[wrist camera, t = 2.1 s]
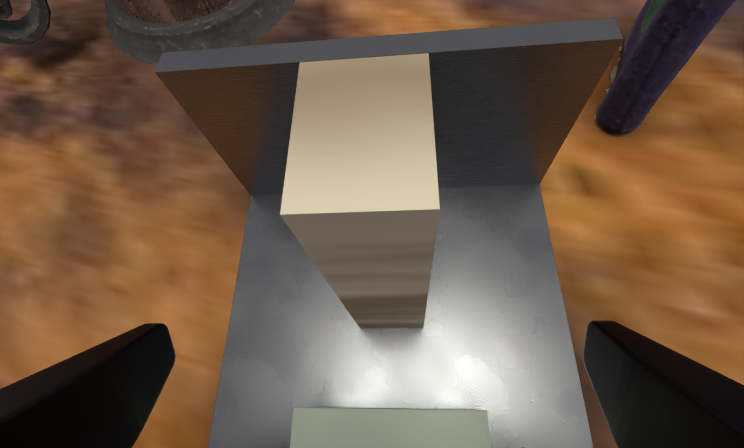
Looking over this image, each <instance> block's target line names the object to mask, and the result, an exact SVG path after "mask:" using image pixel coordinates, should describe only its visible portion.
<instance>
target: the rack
mask: <svg viewBox="0 0 744 448" xmlns="http://www.w3.org/2000/svg"><path fill="white" fill-rule="evenodd" d="M622 40H623V37H622V35H621V32H620V29H619V27H618V24H617V22H616V19H615V18H606V19H593V20H580V21H567V22H554V23H541V24H528V25H515V26H502V27H489V28H476V29H463V30H450V31H437V32H424V33H411V34H398V35H385V36H372V37H359V38H346V39H333V40H320V41H307V42H294V43H281V44H268V45H255V46H242V47H229V48H216V49H203V50H190V51H177V52H164V53H162V54H161V57H160V60H159V63H158V66H157V69H156V71H155V73H156V74H157V75H158V77H159V78H160V79H161V80H162V82H163V83H164V84H165V86H166V87H167V88H168V89H169V91H170V92H171V93H172V95H173V96H174V97H175V98H176V100H177V101H178V102H179V104H180V105H181V106H182V107H183V109H184V110H185V111H186V113H187V114H188V115H189V116H190V118H191V119H192V120H193V122H194V123H195V124H196V125H197V127H198V128H199V129H200V131H201V132H202V133H203V134H204V136H205V137H206V138H207V140H208V141H209V142H210V143H211V145H212V146H213V147H214V149H215V150H216V151H217V152H218V154H219V155H220V156H221V158H222V159H223V160H224V161H225V163H226V164H227V165H228V167H229V168H230V169H231V170H232V172H233V173H234V174H235V176H236V177H237V178H238V179H239V181H240V182H241V183H242V185H243V186H244V187H245V188H246V190H247V191H248V192H249V194H250V195H251V198H250V204H249V210H248V215H247V221H246V227H245V233H244V239H243V245H242V251H241V257H240V262H239V268H238V274H237V280H236V286H235V292H234V298H233V304H232V309H231V315H230V321H229V327H228V333H227V339H226V345H225V351H224V356H223V362H222V368H221V374H220V380H219V386H218V392H217V398H216V403H215V409H214V415H213V421H212V427H211V433H210V439H209V445H208V448H290V440H291V429H292V418H293V408H298V407H347V408H416V409H476V410H487V414H488V424H489V433H490V443H491V448H593V443H592V438H591V434H590V429H589V424H588V419H587V414H586V409H585V404H584V399H583V395H582V390H581V385H580V380H579V375H578V370H577V365H576V360H575V356H574V351H573V346H572V341H571V336H570V331H569V326H568V321H567V317H566V312H565V307H564V302H563V297H562V292H561V287H560V282H559V278H558V273H557V268H556V263H555V258H554V253H553V248H552V243H551V239H550V234H549V229H548V224H547V219H546V214H545V209H544V204H543V200H542V195H541V190H540V185H539V184H540V182H541V180H542V179H543V177H544V175H545V173H546V172H547V170H548V168H549V167H550V165H551V163H552V161H553V160H554V158H555V156H556V154H557V153H558V151H559V149H560V147H561V146H562V144H563V142H564V140H565V139H566V137H567V135H568V134H569V132H570V130H571V128H572V127H573V125H574V123H575V121H576V120H577V118H578V116H579V114H580V113H581V111H582V109H583V107H584V106H585V104H586V102H587V101H588V99H589V97H590V95H591V94H592V92H593V90H594V88H595V87H596V85H597V83H598V81H599V80H600V78H601V76H602V74H603V73H604V71H605V69H606V68H607V66H608V64H609V62H610V61H611V59H612V57H613V55H614V54H615V52H616V50H617V48H618V47H619V45H620V43H621V41H622ZM424 53H429V66H430V80H431V94H432V108H433V121H434V135H435V149H436V163H437V177H438V190H439V204H440V212H439V219H438V226H437V233H436V241H435V248H434V255H433V262H432V270H431V277H430V284H429V291H428V298H427V306H426V313H425V320H424V327H423V328H359V326H358V325H357V323H356V322H355V321H354V319H353V318H352V316H351V315H350V313H349V312H348V311H347V309H346V308H345V306H344V305H343V303H342V302H341V301H340V299H339V298H338V296H337V295H336V293H335V292H334V291H333V289H332V288H331V286H330V285H329V284H328V282H327V281H326V279H325V278H324V276H323V275H322V274H321V272H320V271H319V269H318V268H317V266H316V265H315V264H314V262H313V261H312V259H311V258H310V257H309V255H308V254H307V252H306V251H305V249H304V248H303V247H302V245H301V244H300V242H299V241H298V239H297V238H296V237H295V235H294V234H293V232H292V231H291V230H290V228H289V227H288V225H287V224H286V222H285V221H284V220H283V218H282V217H281V215H280V211H281V203H282V195H283V187H284V180H285V172H286V164H287V157H288V149H289V141H290V133H291V126H292V118H293V110H294V102H295V95H296V87H297V79H298V72H299V64H300V62H312V61H326V60H340V59H354V58H368V57H382V56H396V55H410V54H424Z"/></svg>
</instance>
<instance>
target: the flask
mask: <svg viewBox="0 0 744 448" xmlns="http://www.w3.org/2000/svg"><path fill="white" fill-rule="evenodd" d="M734 1H735V0H647V1H646V3H645V5H644V7H643V8H642V10H641V12H640V13H639V15H638V17H637V19H636V20H635V22H634V24H633V26H632V27H631V29H630V30H629V31H628V32H627V35H626V37H625V40H624V42H623V45H622V46H621V47H620V50H619V51H621V56H620V58H619V61H618V62H617V64H615V65H614V69H613V70H611V75H610V77H611V78H610V79H612V80H611V81H612V85H611V87H610V88H608V89H605V90H606V94H607V95H606V97H605V98H604V100H603V101H602V102H600V103H601V104H600V106H599V107H598V109H597V112H596V114H595V116H594V119H595V122H596V124H597V126H598V127H599V128H600V131H603V132H605V133H608V134H611V135H614V136H617V137H619V136H623V137H625V136H627V135H629V134H631V133H633V132H634V130H635V129H636V128H638V127H639V126H640V125H641V124H642V121H643V120H644V118H645V116H646V115H647V113H648V112H649V110H650V109H651V107H652V106H653V105H654V104H655V102H656V101H657V99H658V98H659V96H660V95H661V94H662V93H663V91H664V90H665V89H666V88H667V87H668V85H669V84H670V83H671V81H672V80H673V79H674V78H675V76H676V75H677V74H678V72H679V71H680V70H681V69H682V67H683V66H684V65H685V64H686V63H687V61H688V60H689V59H690V57H691V56H692V54H693V53H694V52H695V50H696V49H697V48H698V47H699V45H700V44H701V43H702V41H703V40H704V39H705V38H706V36H707V35H708V34H709V33H710V31H711V30H712V29H713V27H714V26H715V25H716V23H717V22H718V21H719V20H720V19H721V17H722V16H723V14H724V13H725V12H726V11H727V10H728V8H729V7H730V6H731V5H732V4H733V2H734Z"/></svg>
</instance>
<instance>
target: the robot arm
mask: <svg viewBox="0 0 744 448" xmlns="http://www.w3.org/2000/svg"><path fill="white" fill-rule="evenodd" d="M583 361H584V365H585V368H586V371H587V373H588V376H589V378H590V381H591V383H592V385H593V388H594V390H595V393H596V395H597V398H598V400H599V403H600V405H601V408H602V410H603V413H604V415H605V418H606V420H607V423H608V425H609V427H610V430H611V432H612V434H613V437H614V439H615V441H616V443H617V445H618V447H619V448H744V385H742V384H740V383H738V382H736V381H734V380H732V379H730V378H728V377H726V376H724V375H722V374H720V373H718V372H716V371H714V370H712V369H710V368H708V367H706V366H704V365H702V364H700V363H698V362H696V361H694V360H692V359H690V358H688V357H686V356H684V355H681V354H679V353H677V352H675V351H673V350H671V349H669V348H667V347H665V346H663V345H661V344H659V343H657V342H655V341H653V340H651V339H649V338H647V337H645V336H643V335H641V334H639V333H637V332H635V331H633V330H631V329H629V328H627V327H625V326H623V325H621V324H619V323H617V322H614V321H610V320H604V321H591V322H590V323H589V325H588V327H587V333H586V339H585V346H584V352H583ZM174 363H175V351H174V347H173V344H172V340H171V337H170V334H169V330H168V328H167V326H166V325H164V324H162V323H149V324H144V325H141V326H139V327H137V328H135V329H132V330H130V331H128V332H126V333H123V334H121V335H119V336H117V337H115V338H112V339H110V340H108V341H106V342H104V343H101V344H99V345H97V346H95V347H92V348H90V349H88V350H86V351H84V352H81V353H79V354H77V355H75V356H73V357H70V358H68V359H66V360H64V361H62V362H59V363H57V364H55V365H53V366H50V367H48V368H46V369H44V370H42V371H39V372H37V373H35V374H33V375H31V376H28V377H26V378H24V379H22V380H20V381H17V382H15V383H13V384H11V385H8V386H6V387H4V388H2V389H0V448H132V447H133V445H134V443H135V442H136V440H137V438H138V436H139V435H140V433H141V431H142V429H143V427H144V425H145V423H146V421H147V419H148V417H149V415H150V413H151V411H152V409H153V407H154V405H155V403H156V401H157V399H158V397H159V395H160V393H161V391H162V389H163V386H164V384H165V382H166V380H167V378H168V376H169V374H170V372H171V370H172V368H173V366H174Z"/></svg>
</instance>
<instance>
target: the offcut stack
mask: <svg viewBox="0 0 744 448" xmlns="http://www.w3.org/2000/svg"><path fill="white" fill-rule="evenodd" d="M290 448H491V443H490V433H489V424H488V414H487V410H476V409H416V408H347V407H298V408H293V418H292V429H291V440H290Z"/></svg>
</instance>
